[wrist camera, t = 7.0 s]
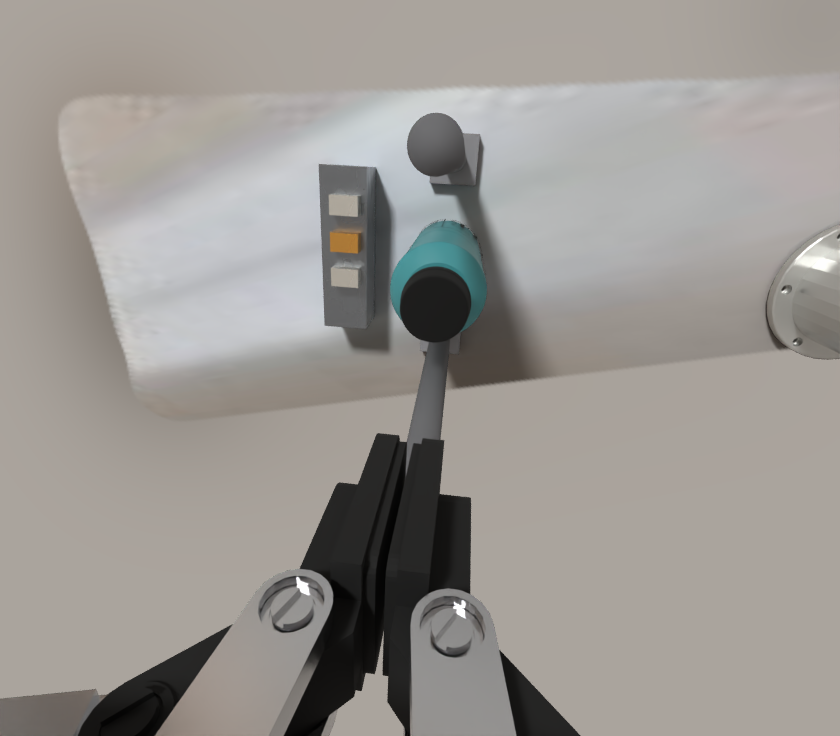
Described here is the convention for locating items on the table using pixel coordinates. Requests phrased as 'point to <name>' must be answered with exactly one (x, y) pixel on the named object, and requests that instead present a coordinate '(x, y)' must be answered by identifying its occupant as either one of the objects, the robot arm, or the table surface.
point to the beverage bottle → (440, 282)
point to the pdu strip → (348, 244)
